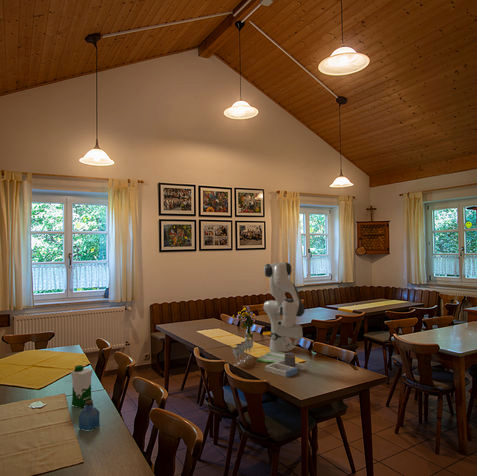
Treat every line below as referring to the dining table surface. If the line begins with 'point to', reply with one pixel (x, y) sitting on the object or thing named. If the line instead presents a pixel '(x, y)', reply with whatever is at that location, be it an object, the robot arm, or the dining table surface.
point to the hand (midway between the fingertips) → (289, 343)
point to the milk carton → (81, 386)
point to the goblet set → (242, 350)
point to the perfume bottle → (89, 417)
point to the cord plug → (290, 359)
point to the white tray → (283, 368)
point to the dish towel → (271, 357)
